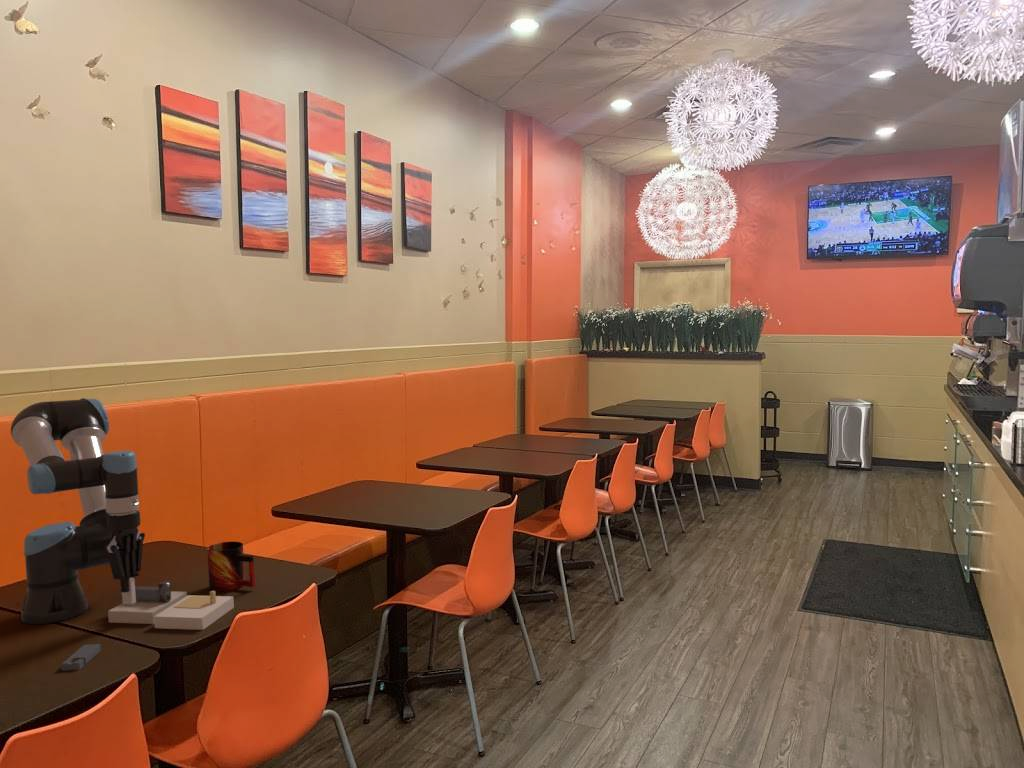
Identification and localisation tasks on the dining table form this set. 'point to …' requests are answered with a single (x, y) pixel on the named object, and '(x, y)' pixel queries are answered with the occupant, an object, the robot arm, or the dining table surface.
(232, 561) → the mug
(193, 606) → the door slab
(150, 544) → the dining table surface
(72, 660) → the bracket
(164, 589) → the bar
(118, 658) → the dining table surface
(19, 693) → the dining table surface
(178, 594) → the block
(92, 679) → the dining table surface
